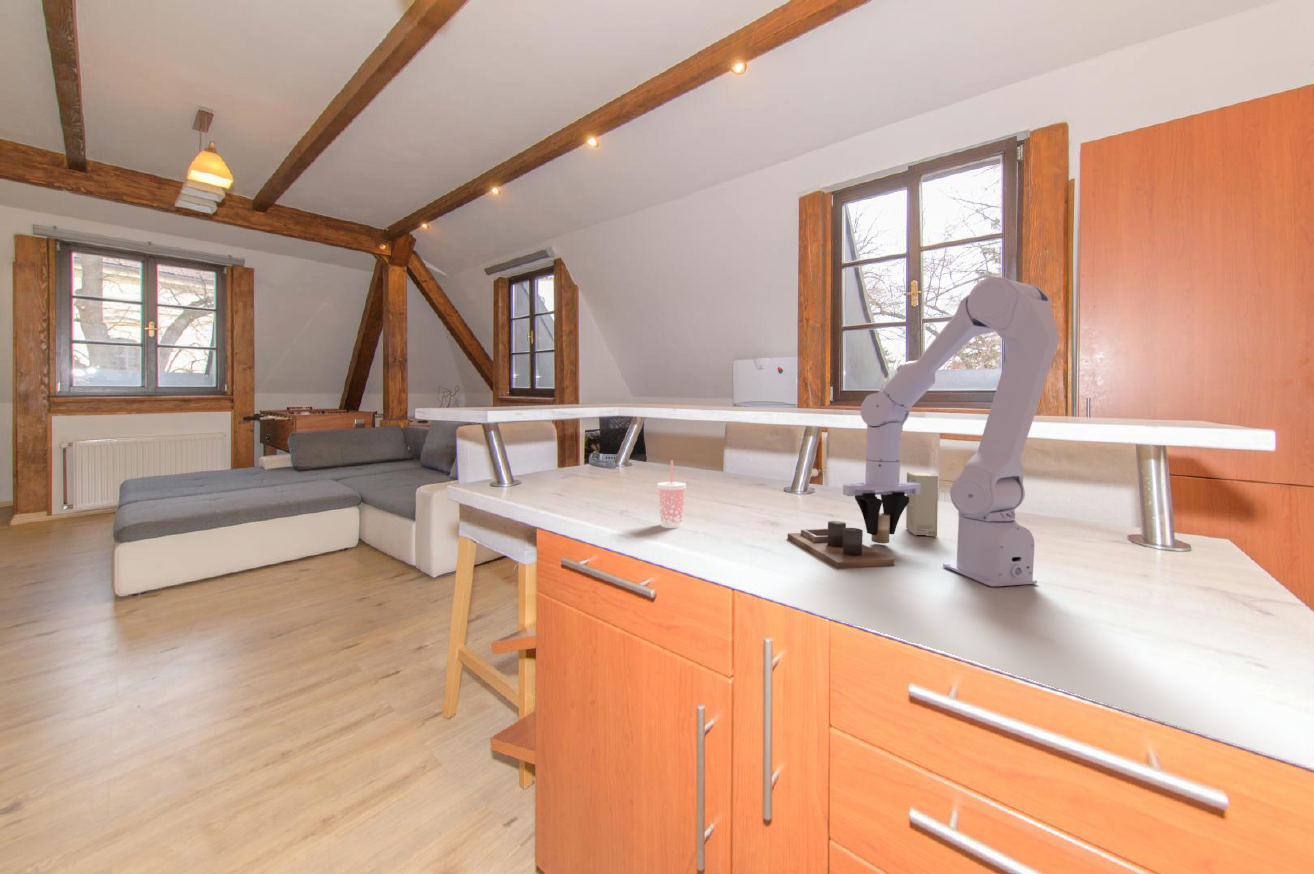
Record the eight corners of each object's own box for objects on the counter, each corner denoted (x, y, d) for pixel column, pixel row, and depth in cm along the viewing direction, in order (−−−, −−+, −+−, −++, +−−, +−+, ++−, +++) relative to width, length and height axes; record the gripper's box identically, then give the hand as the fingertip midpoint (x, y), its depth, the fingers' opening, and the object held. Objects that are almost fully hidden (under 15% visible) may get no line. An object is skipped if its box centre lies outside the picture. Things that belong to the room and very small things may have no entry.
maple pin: (892, 542, 91) (893, 515, 91) (877, 543, 90) (878, 516, 90) (882, 538, 94) (883, 512, 94) (868, 539, 93) (868, 513, 93)
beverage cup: (686, 529, 103) (686, 462, 103) (656, 528, 104) (657, 461, 103) (685, 522, 110) (685, 458, 109) (657, 521, 110) (657, 458, 109)
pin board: (894, 565, 81) (895, 534, 80) (837, 568, 79) (838, 537, 78) (834, 536, 98) (835, 511, 98) (787, 538, 96) (788, 513, 96)
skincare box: (937, 537, 98) (940, 476, 97) (913, 536, 99) (915, 475, 98) (927, 529, 104) (929, 472, 104) (904, 528, 105) (906, 471, 104)
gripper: (903, 457, 97) (901, 526, 97) (834, 458, 94) (833, 529, 95) (929, 461, 90) (926, 535, 90) (856, 462, 87) (854, 539, 88)
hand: (880, 533), depth 92 cm, fingers closed on maple pin, 3 cm apart
